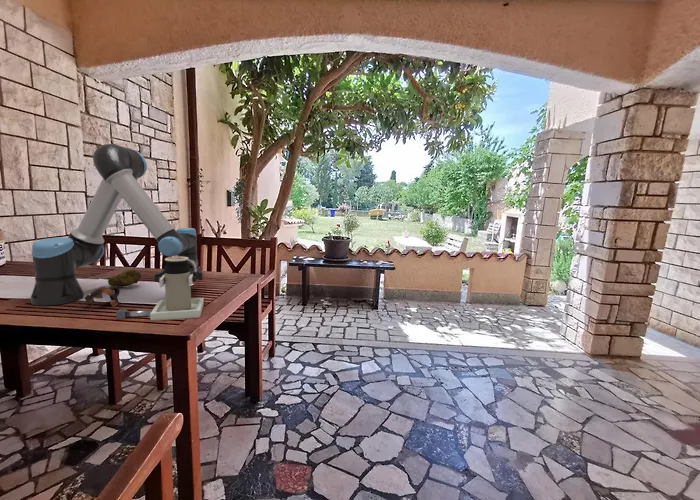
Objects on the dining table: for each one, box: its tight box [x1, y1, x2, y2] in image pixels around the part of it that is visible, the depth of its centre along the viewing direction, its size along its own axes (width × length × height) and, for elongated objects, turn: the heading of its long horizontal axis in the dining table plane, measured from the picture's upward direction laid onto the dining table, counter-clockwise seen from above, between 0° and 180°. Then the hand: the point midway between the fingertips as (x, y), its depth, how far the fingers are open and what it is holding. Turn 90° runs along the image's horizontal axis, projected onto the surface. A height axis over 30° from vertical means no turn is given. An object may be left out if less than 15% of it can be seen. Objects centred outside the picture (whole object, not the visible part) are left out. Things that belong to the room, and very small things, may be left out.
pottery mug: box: [83, 285, 121, 308], centre depth 123 cm, size 12×10×8 cm
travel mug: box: [163, 256, 192, 311], centre depth 117 cm, size 8×8×18 cm
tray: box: [149, 297, 205, 322], centre depth 118 cm, size 15×15×2 cm
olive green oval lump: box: [107, 268, 142, 288], centre depth 147 cm, size 8×13×8 cm, turn 74°
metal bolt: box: [116, 308, 152, 320], centre depth 112 cm, size 9×3×3 cm, turn 109°
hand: (175, 282), depth 112 cm, fingers open, 8 cm apart
